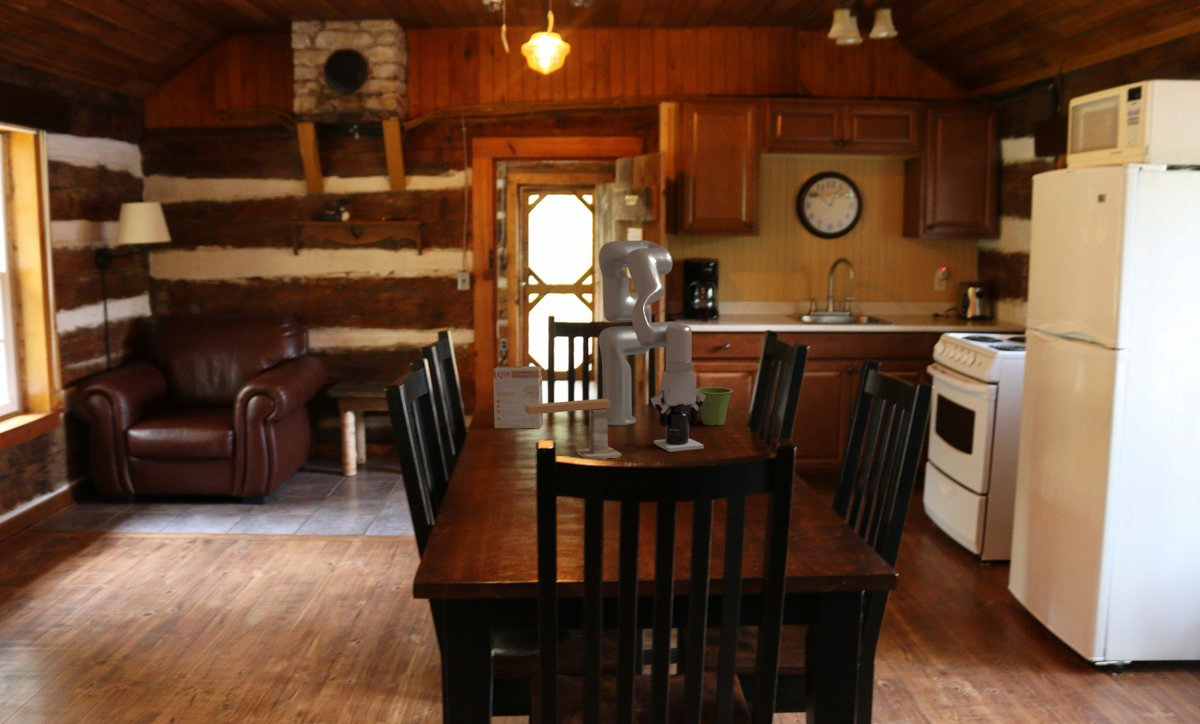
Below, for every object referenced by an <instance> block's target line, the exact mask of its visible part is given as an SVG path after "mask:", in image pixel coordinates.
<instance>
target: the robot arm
mask: <svg viewBox="0 0 1200 724" xmlns="http://www.w3.org/2000/svg"><path fill="white" fill-rule="evenodd" d="M598 265H599V268H600V273H601V277H602V299H603V300H602V301H603V303H602V306H603V316H604V319H605V321H607V322H609V323H614V324H615V323H631V322H632V325H624V326H623V325H621V326H611V327H607V328H604V329H603V330H602V331H601V332H600V333H599V336H598V345H599V349H600V357H601V365H602V367H601V368H602V369H601V370H602V371H601V372H602V373H601V375H602V376H601V377H602V399H608V400H610V401H611V408H606V409H607V425H608V426H628V425H632V424H633V425H634V424H635V423H636V422H637V418H636V417H635V416H633V415H632V409H633V407H632V405H633V404H632V368H631V365H630V363H629V362H628V361H627V359H626V357H625V356H632V355H633V356H634V355H642V354H646V353H648V352H649V350H651V349H657V348H658V349H659V348H665V371H662V374H661V379H660V380H661V381H660V389H659V393H657V394H656V395H653V397H651V398H650V402H651V404H652V405H653V408H654V409H655V410H656V411H657V412H658V422H659V424H660V426H662V427H664V428H666V426H667V412H666V411H667V410H668V408H669V407H672V406H677V405H678V404H684V405H686V406H690V408H689V423H691V424H693V425H697V421H698V411H699V410H700V406H701V405H702V404H703V401H704V399H705V397H706V395H705V394H703V393H701V392H699V391H696V389H697V388H696V379H695V373H694V371H693V368H695V367H696V362H694V361H692V351H693V349H692V347H693V346H692V345H693V344H692V342H693V341H692V340H693V339H692V338H693V337H692V336H693V334H692V328H691V326H689V325H686V324H681V323H680V322H677V321H657V322H653V321H652V304H653V303H654V304H655V302H657V301H659V300H660V299H661V298H662V297H663V296H664V295H665V291H666V290H665V287H664V284H663V283H664V282H663V281H662V277H661V276H662V275H663V276H665V275H668V274H669V273H670V272H671V271H672V268H673V257H672V255H671V253H670V252H669V250H668V249H667V248H665V247H663V246H661V245H659V244H658V243H655V242H653V241H651V240H644V239H643V240H614V241H609V242H605V243H604V244H603V245H602V246H601V247H600V249H599V253H598ZM624 268H627V269H628V272H629V276H630V278H631V282H632V283H633V287H634V290H635V292H630V279H629V277H628V274H627V273H626V271H625V270H624ZM698 396H699V398H698V400H697V397H698ZM658 401H659V403H660V404H659V403H658Z"/></svg>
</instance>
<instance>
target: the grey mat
mask: <svg viewBox="0 0 1200 724" xmlns="http://www.w3.org/2000/svg"><path fill="white" fill-rule="evenodd" d="M653 444H654V445H655V444H656V445H655V446H657V447H660V448H662V449H663V450H665V451H667V452H670V453H671V452H680V451H690V450H699V449H704V444H702V443H701V442H698V441H696V440H694V439H692V438H691V437H690V438H689V439H688V443H687V444H683V445H673V444H668V443H667V442H666V438H665V439H657V440H656V439H655V440H653Z"/></svg>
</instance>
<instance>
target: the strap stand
mask: <svg viewBox="0 0 1200 724" xmlns="http://www.w3.org/2000/svg"><path fill="white" fill-rule="evenodd" d="M588 412H589V413H588V414H589V416H588V417H589V418H588V420H589V421H588V424H589V427H588V428H589V429H588V431H589V447H588V448H587V447H586V448H579V449H578V448H577V449H575V450H576V451H578V452H580V453H581V454H582V455H584V456H583V457H585V458H594V459H602V460H601V461H605V460H608V459H607V458H616V459H618V458H617V457H620V456H623V455H622V453H621V452H619V451H618V450H616V449H614V448H612V447H611V446H608V445H609V444H608V443H609V441H608V440H609V439H608V433H609V432H608V430H609V429H608V426H609V425H607V409H606V408H603V409H591V410H588ZM576 451H575V452H576Z"/></svg>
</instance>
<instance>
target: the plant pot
mask: <svg viewBox="0 0 1200 724" xmlns="http://www.w3.org/2000/svg"><path fill="white" fill-rule="evenodd" d="M696 391H699V392H701V393H703V394H705V395H706V397H705V399H704V401H703V404H702V405H701V406H700V408H699V410H700V415H701V416H700V417H701V423H702V424H703V425H705V426H713V427H714V426H715V425H717V426H722V425H725V423H726V419H727V411H728V406H729V401H730V399H731V394H732V393H733V389H731V388H727V387H726V388H725V387H719V386H718V387H716V386H715V387H714V386H711V387H710V386H708V387H707V386H706V387H698V388H696ZM697 398H698V399H699V396H697Z"/></svg>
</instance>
